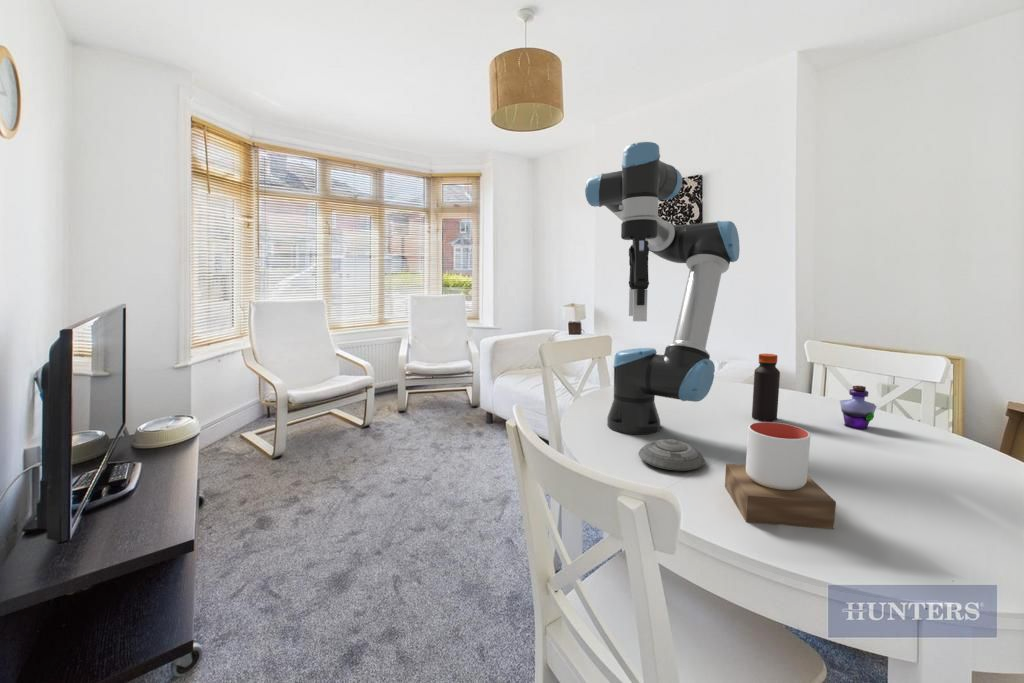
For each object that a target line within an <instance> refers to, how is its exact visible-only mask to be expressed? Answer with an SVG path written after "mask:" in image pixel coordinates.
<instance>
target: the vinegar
mask: <svg viewBox="0 0 1024 683" xmlns="http://www.w3.org/2000/svg"><path fill="white" fill-rule="evenodd" d="M777 363H778V355H777V354H774V353H759V354H758V364H759V366H758V367H756V368H755V369H754V375H753V376H754V377H753V388H752V389H753V392H752V409H751V417H752V419H753V420H756V421H758V422H776V421H777V420H778V410H779V409H778V408H779V393H780V378H781V377H780V376H781V372H780V370H779V369H778V368H777V366H776V365H777Z"/></svg>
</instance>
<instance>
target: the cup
mask: <svg viewBox="0 0 1024 683" xmlns="http://www.w3.org/2000/svg"><path fill="white" fill-rule="evenodd" d="M746 442H747V443H746V444H747V445H746V460H745V465H746V473H747V475H748V476H749V477H750V478H751V479H752V480H753V481H755V482H756V483H758V484H760V485H763V486H766V487H769V488H773V489H778V490H796V489H799V488H801V487H803V486H804V485H805V484H806V482H807V475H808V473H809V472H808V471H809V462H810V461H809V459H810V458H809V457H810V445H811V434H810V432H809V431H807V430H806V429H804V428H802V427H798V426H795V425H791V424H787V423H783V422H782V423H781V422H776V421H773V422H765V421H758V422H752V423H751V424H749V425H748V427H747V441H746Z"/></svg>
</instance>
